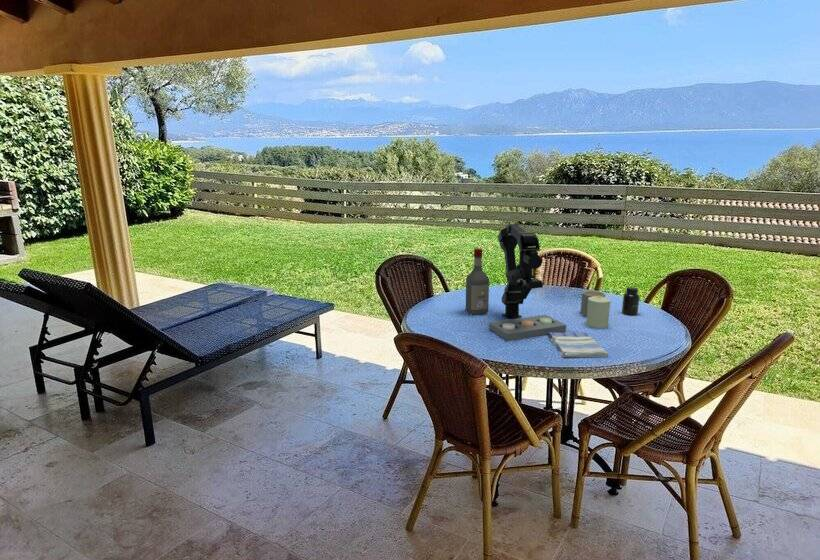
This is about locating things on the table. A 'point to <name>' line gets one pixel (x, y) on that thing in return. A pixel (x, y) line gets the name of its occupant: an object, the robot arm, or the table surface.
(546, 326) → the button panel
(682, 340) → the table surface
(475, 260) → the liquor
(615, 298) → the table surface
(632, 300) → the supplement bottle
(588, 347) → the dish towel
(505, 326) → the cream button
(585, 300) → the coffee mug
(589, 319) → the sage green canister
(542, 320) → the sage button
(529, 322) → the terracotta button
